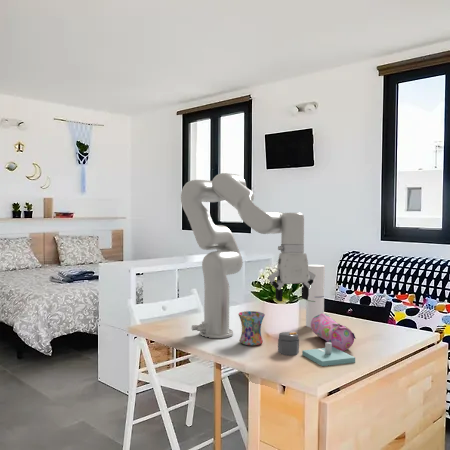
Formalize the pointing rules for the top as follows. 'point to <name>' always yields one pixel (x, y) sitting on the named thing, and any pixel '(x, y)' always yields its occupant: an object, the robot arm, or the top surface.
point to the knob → (288, 343)
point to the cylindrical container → (315, 294)
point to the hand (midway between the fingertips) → (292, 299)
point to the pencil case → (332, 332)
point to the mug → (251, 327)
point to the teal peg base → (328, 355)
